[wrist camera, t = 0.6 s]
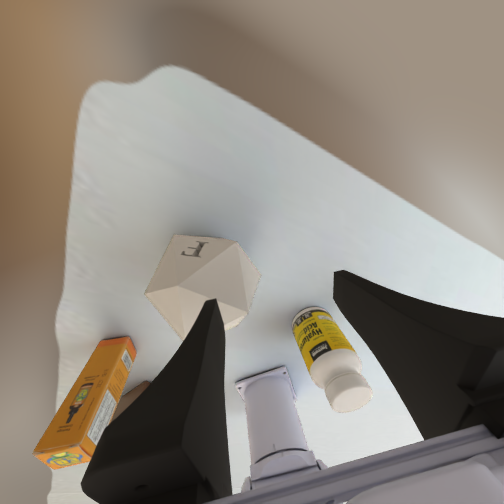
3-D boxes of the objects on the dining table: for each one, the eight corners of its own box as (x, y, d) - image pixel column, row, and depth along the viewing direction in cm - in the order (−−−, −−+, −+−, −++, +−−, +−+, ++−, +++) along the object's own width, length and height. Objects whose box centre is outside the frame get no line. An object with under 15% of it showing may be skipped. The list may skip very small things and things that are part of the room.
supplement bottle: (304, 300, 25) (350, 376, 16) (336, 311, 27) (393, 386, 18) (282, 330, 27) (313, 414, 18) (314, 339, 29) (356, 420, 20)
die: (268, 247, 22) (253, 222, 12) (257, 330, 21) (231, 376, 11) (196, 239, 24) (132, 211, 14) (183, 316, 23) (104, 345, 13)
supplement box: (111, 358, 25) (48, 474, 16) (100, 338, 23) (25, 453, 14) (139, 354, 25) (94, 464, 16) (131, 334, 24) (76, 444, 15)
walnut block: (173, 394, 29) (165, 437, 25) (149, 410, 30) (136, 455, 25) (146, 380, 27) (131, 424, 23) (120, 397, 28) (101, 443, 23)
